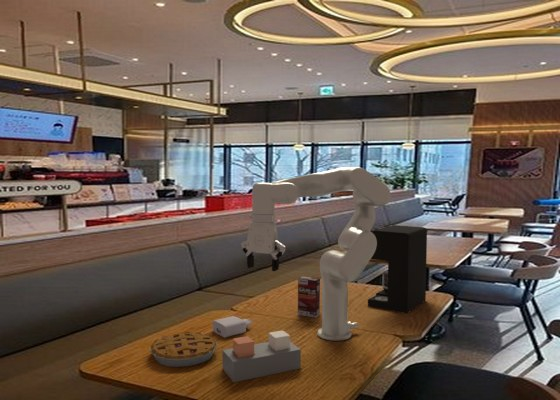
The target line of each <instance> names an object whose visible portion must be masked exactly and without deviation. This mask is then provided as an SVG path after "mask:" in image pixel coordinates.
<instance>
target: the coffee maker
mask: <svg viewBox="0 0 560 400" xmlns="http://www.w3.org/2000/svg"><path fill="white" fill-rule="evenodd" d="M370 232H372V233H373V234H374V235H375V237H376V240H377V246H376V250H375V252H374V254H373V256H372V258H371V259H370V260H375V261H383V262H387V263H388V264H387V269H386V270H385V267H384V268H383V269H382V270H383V272H382V283H381V287H382V290H380V291H378V292H376V293H375V295H373V296H372V297H369V298H368V299H367V307H370V306H371V308H375V307H376V309H381V308H382V309H381V310H386V309H387V310H388V311H391V310H392V312H397V311H398V312H397V313H402V312H404V313H403V314H408V312H409V311H410V312H411V310H412V309H413V310H414V309H416V308H417V307H419V306H420V305H422V304H423V303H424V302H426V301H425V300H426V298H427V249H428V229H427V228H426V227H422V226H421V227H420V226H407V225H397V224H395V225H394V224H392V225H384V226H383V227H380V228H379V227H378V228H377V227H375V228H373V229H371V231H370ZM423 301H424V302H423ZM422 302H423V303H422ZM421 303H422V304H421ZM419 304H420V305H419ZM418 305H419V306H418ZM416 306H417V307H416ZM415 307H416V308H415ZM413 310H412V311H413ZM410 312H409V313H410Z"/></svg>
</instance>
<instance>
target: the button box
mask: <svg viewBox="0 0 560 400" xmlns="http://www.w3.org/2000/svg"><path fill="white" fill-rule="evenodd" d="M301 350H302V349H301V348H300V347H298V346H297V345H296V344H294V343H293V342H292V341H290V348H289V349H284V350H278V351H274V350H273V349H272V348H271V347H269V341H266V342H259V343H254V355H252V356H246V357H241V358H237V356H236V355H235V354H234V353H233V347H231V348H227V349H222V370H223V371H224V373H225V374H226V375H227V376H228V377H229V379H230V380H231V381H232V382H233V383H237V382H242V381H247V380H251V379H256V378H261V377H266V376H270V375H275V374H279V373H284V372H288V371H289V372H290V371H295V370H299V369H301V368H302V367H301V360H302V359H301V357H302V351H301Z"/></svg>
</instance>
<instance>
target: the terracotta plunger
mask: <svg viewBox="0 0 560 400" xmlns="http://www.w3.org/2000/svg"><path fill="white" fill-rule="evenodd" d="M254 344H255V340H253V339H252V338H251V337H250V336H248V335H246V336H241V337H235V338H232V348H233V353H234V354H235V355H236V356H237V358H241V357H246V356H252V355H254Z"/></svg>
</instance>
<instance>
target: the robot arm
mask: <svg viewBox="0 0 560 400" xmlns="http://www.w3.org/2000/svg"><path fill="white" fill-rule="evenodd" d="M344 191H352V199H353V202H354V203H353V204H354V213H353V215H352V216H351V218H350V220H349V222H348V223H347V224H346V226H345V227H344V229H343V230H342V232H341V233H340V235H339V237H338V239H337V240H338V241H337V244H338V246H339V248H340V249H341V250H343V252H342V251H338V250H336V249H335V250H334V249H333V250H328V251H325V252H324V253H323V254H322V255H321V257H320V260H319V271H320V276H321V278H320V279H321V328H319V329H318V330H317V335H318V337H319V338H321V339H323V340H327V341H332V342H333V341H345V340H349V339H351V337H352V335H353V334H352V333H353V332H352V331H351V330H352V329H355V328H359V322H351V321H348V316H349V315H348V313H349V312H348V308H349V307H348V306H349V305H348V303H349V301H348V296H349V289H348V288H349V287H348V282H349V283H351V282H353V281H354V282H355V280H357V279H358V278H359V277H360V276H361V275H362V273H363V272H364V270H365V269H366V267H367V265H368V264H369V262H370V260H372V259H371V258H372V256H373V254H374V252H375V250H376V246H377V240H376V237H375V235H374V234H373V233H372V232H370V231H371V230H373V227H374V226H375V224H376V223H375V222H376V210H375V208H377V207H378V208H379V207H384V206H386V205H387V204H389V202H390V200H391V197H392V195H391V191H390V189H389V187H388V186H387V184H385V183H384V182H383V181H381V180H380V179H379V178H377V177H376V176H375V175H373V174H372V173H371V172H369V171H368V170H366V169H365V168H363V167H359V166H341V167H338V168H334V169H329V170H325V171H320V172H315V173H309V174H306V175H301V176H296V177H291V178H286V179H281V180H277V181H273V182H255V183H253V185H252V205H251V206H252V208H251V209H252V212H251V213H252V214H249V216H248V217H249V219H250V220H251V222H249V226H248V231H247V239H246V240H244V241H242V242H241V243H240V246H241V248H242V251H243V252H244V254H245V256H246V267H247V269H251V268H253V267H255V256H254V253H256V254H257V253H258V254H265V255H267V254H270V255H271V257H272V258H273V259H272V260H271V271H272V272H276V271H278V270H279V267H280V259H281V257H283V256H284V254H285V252H286V249H287V246H286V245H284V244H283V243H282V242H280V241H279V234H278V227H277V223H276V222H275V210H276V209H275V207H276V206H275V205H276V204H280V205H281V204H282V205H290V204H291V205H292V204H293V203H295V202H297V201H298V198H309V197H310V198H317V197H324V196H328V195H331V194H335V193H340V192H344ZM278 249H279V252H278Z"/></svg>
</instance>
